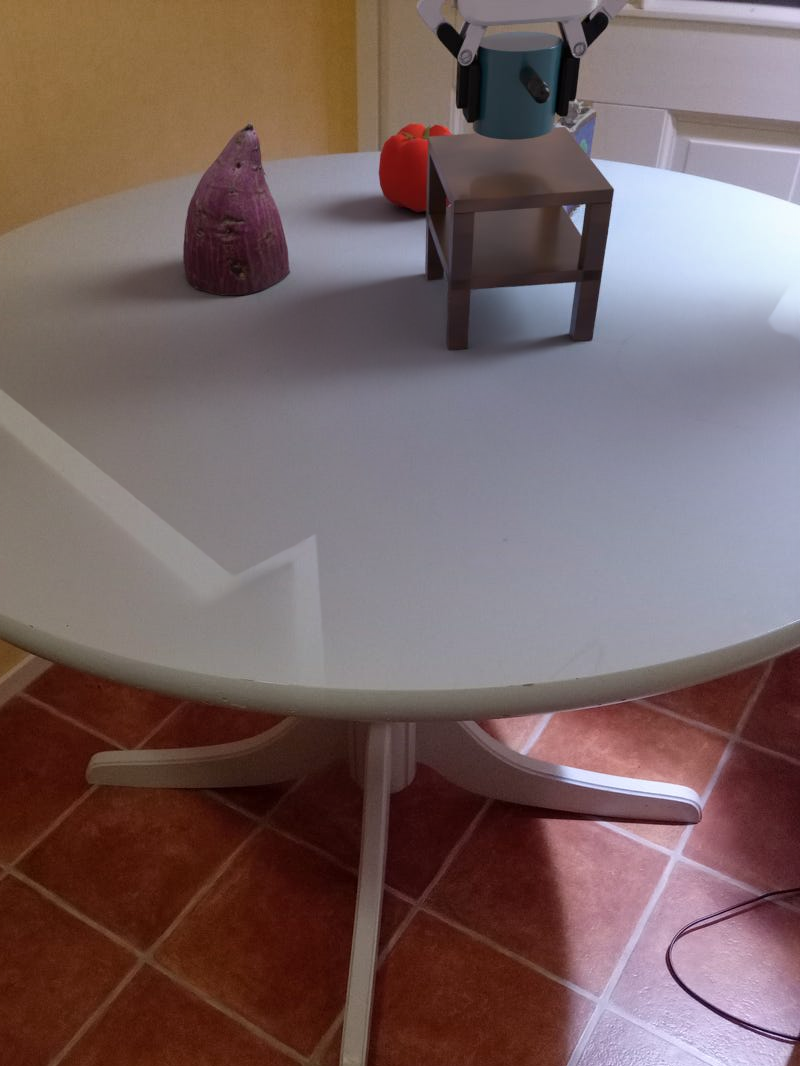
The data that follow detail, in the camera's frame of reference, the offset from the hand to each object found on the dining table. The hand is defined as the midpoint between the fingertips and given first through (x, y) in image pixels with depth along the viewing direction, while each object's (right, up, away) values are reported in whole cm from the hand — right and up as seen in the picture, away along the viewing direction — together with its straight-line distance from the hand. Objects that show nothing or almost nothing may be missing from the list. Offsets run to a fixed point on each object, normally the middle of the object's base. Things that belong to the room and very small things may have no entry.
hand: (514, 112), depth 77 cm
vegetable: (-23, -6, +18) cm, 30 cm away
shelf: (+1, -12, +10) cm, 15 cm away
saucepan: (0, -3, -2) cm, 3 cm away
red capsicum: (-4, +5, +29) cm, 30 cm away
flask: (+10, +3, +25) cm, 27 cm away
